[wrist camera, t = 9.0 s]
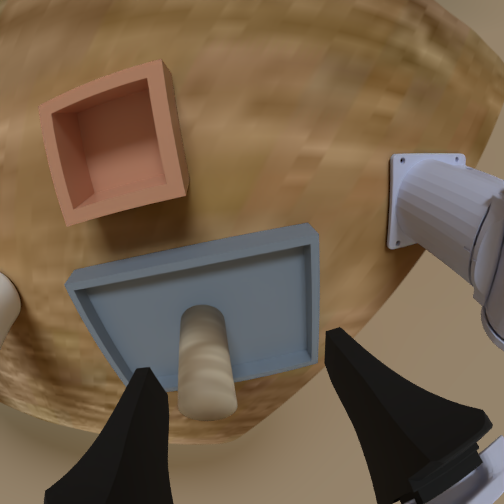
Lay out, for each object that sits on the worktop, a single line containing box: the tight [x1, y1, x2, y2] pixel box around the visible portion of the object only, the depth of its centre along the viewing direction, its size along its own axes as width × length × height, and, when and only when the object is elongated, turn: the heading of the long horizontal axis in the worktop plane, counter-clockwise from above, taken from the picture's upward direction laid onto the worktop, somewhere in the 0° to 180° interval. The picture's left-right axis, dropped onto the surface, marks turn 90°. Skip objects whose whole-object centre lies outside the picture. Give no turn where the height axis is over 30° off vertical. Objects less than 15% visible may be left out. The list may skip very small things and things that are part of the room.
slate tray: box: [64, 223, 320, 392], centre depth 21 cm, size 18×13×2 cm
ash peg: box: [178, 305, 237, 421], centre depth 18 cm, size 4×4×8 cm
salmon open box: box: [38, 59, 190, 226], centre depth 13 cm, size 7×7×4 cm
